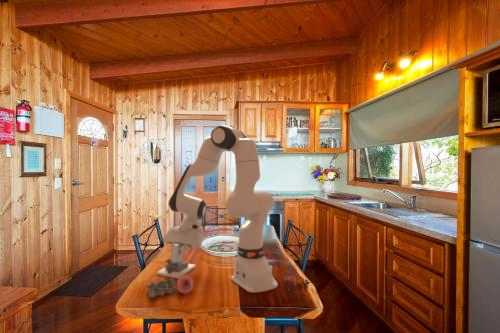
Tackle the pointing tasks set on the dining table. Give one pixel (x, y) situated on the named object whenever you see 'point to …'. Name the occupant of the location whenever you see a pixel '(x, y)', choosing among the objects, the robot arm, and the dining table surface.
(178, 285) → the flower
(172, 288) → the egg carton
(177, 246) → the end link
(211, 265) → the dining table surface
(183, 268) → the keeper board
